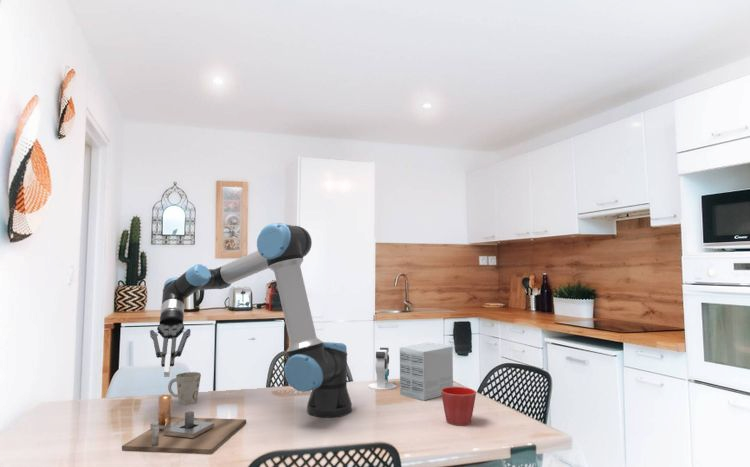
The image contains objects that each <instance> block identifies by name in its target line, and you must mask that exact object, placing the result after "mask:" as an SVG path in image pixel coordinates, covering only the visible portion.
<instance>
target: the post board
mask: <svg viewBox="0 0 750 467" xmlns="http://www.w3.org/2000/svg"><path fill="white" fill-rule="evenodd" d="M194 415H195V412H194V411H190V410H189V411H186V412H184V417H183V416H182V417H181V416H180V417H179V416H177V417H176V416H175V417H174V416H171V423H180V422H182V421H184V420H185V429H192V428H194V421H204V422H214V427H213V428H211V429H209V430H207V431H205V432H203V433H202V434H200V435H198V436H196V437H194V438H188V437H179V436H170V435H163V430H164V429H159V427H153V428H150V429H148V430H146V431H145V432H143V433H141V434H139V435H137V436H135V437H134V438H133V439H131V440H130V441H127V442H126V443H124V444H123V445H121V451H124V452H125V451H126V452H128V451H129V452H151V453H175V454H176V453H177V454H179V453H180V454H195V455H196V454H200V455H212V454H213V453H214V452H216V451H217V450H218V449H219V448H220V447H221V446H223V445H224V444H225V442H227V441H228V440H230V439H231V437H232V436H234V435H235V434H236V433H237V432H239V431H240V429H242V428H243V427H244V426H245V425H246V424H247V419H244V418H243V419H241V418H239V419H238V418H210V417H195V416H194Z"/></svg>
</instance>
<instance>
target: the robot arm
mask: <svg viewBox="0 0 750 467" xmlns="http://www.w3.org/2000/svg"><path fill="white" fill-rule="evenodd" d="M312 241H313V240H312V237H311V234H310V233H309V231H308V230H306V228H303V226H299V225H291V224H284V222H283V223H282V222H279V223H270V224H268V225H265V226H264V227H263V228H262V229H261V231H260V233H259V234H258V236H257V240H256V248H257V250H255V251H253V252H251V253H248V254H246V255H244V256H242V257H240V258H237V259H235V260H233V261H231V262H228V263H226V264H223V265H222V266H219V267H217V268H212V269H211V268H208V267H207V266H205V265H203V264H200V263H196V264H194V265H193V266H192V267H189V268H188V269H187V271H185V272H184V273H183V274H182V275H180V276H179V277H177V276H173V277H170V278H168V279H166V281H164V284H163V288H162V297H161V298H162V299H161V307H160V317H159V324H158V326H157V329H151V330H149V336H150V338H151V339H152V341H153V345H154V352H155V355H156V356H155V357H156V358H158V359H159V358H160V359H161V362H160V366H161V367H162V368H164V370H163V377H164V378H169V377H170V374H171V373H170V372H171V367H174V366H175V359H176V357H179V358H180V357H181V355H182V353H183V351H184V349H185V345H186V343H187V341H188V338H190V336H191V328H185V325H184V317H185V315H184V314H185V301H186V299H187V298H189V297H190V296H191V295H193V294H195V292H197V291H206V290H223V289H226V288H229V287H230V286H232V284H234V283H235V282H238V281H240V280H244V279H246V278H248V277H250V276H253V275H255V274H258V273H261V272H263V271H265V270H268V269H270V270H271V271H273V272H274V276H275V282H276V286H277V290H278V294H279V300H280V304H281V309H282V313H283V319H284V321H285V326H286V327H285V328H286V331H287V336H288V339H289V346H288V348H287V349H286V354H287V358H288V359H287V360H286V363H285V365H284V367H283V368H284V369H283V371H284V378H285V380H286V382H287V383H288V385H289V386H290V387H291V388H293V389H295V391H298V392H303V393H304V392H305V393H306V392H310V391H311V392H310V395H309V398H308V402H307V405H306V412H307V414H309V415H311V416H314V417H318V418H336V417H338V418H339V417H342V416H346V415H348V414H350V413H351V412H352V410H353V407H352V405H353V403H352V400H351V397H350V394H349V391H348V388H347V382H348V381H347V379H348V376H347V373H348V352H347V351H348V350H347V349H348V348H347V345H346V344H345V343H343V342H331V341H330V342H328V341H326V342H325V341H322V340H321V339H319V338H318V337H317V333H316V330H315V325H314V321H313V316H312V315H313V314H312V311H311V306H310V303H309V299H308V298H309V297H308V294H307V290H306V286H305V281H304V277H303V276H304V275H303V273H302V269H301V268H302V267H301V265H302V263H303V262H304V257H306V256H307V255H308V254H309V253H310V251H311V248H312V243H313V242H312ZM159 335H160V336H161V337H162V338H163V340H162V341H163V342H162V349H160V348H161V347H160V345H159V340H158V336H159ZM180 335H182V336H181V339H180V341H179V344H178V347H177V338H179V336H180ZM169 339H171V347H170V354H168V344H169ZM176 347H177V348H176ZM176 349H177V350H176ZM161 350H162V351H161Z"/></svg>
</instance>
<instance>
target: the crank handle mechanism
mask: <svg viewBox="0 0 750 467" xmlns="http://www.w3.org/2000/svg"><path fill="white" fill-rule="evenodd" d="M171 417H172V395H171V394H162V395H159V396H158V420H157V421H154V422H152V423H150V426H149V428H150V429H151V428H153V427H159V429H164V430H163V435H170V436H179V437H188V438H194V437H196V436H198V435H200V434H202V433H203V432H205V431H207V430H209V429H211V428H213V427H214V422H204V421H194V428H192V429H185V420H184V421H182V422H180V423H171Z"/></svg>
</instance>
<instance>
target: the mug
mask: <svg viewBox="0 0 750 467" xmlns="http://www.w3.org/2000/svg"><path fill="white" fill-rule="evenodd" d="M201 376H202V374H201V373H200V372H197V371H191V372H190V371H189V372H188V371H187V372H182V373H178V374H176V375H175V378H172V379H171V380H170V381H169V382H168V385H167V390H168V393H169V395H171V397H174V398H178V404H179V405H182V406H187V405H188V406H190V405H193V404H196V403H197V401H198V397H199V389H200V382H201ZM174 383H176V389H177V394H176V393H174V391H173V390H172V389H173V388H172V386H173V384H174Z"/></svg>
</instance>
